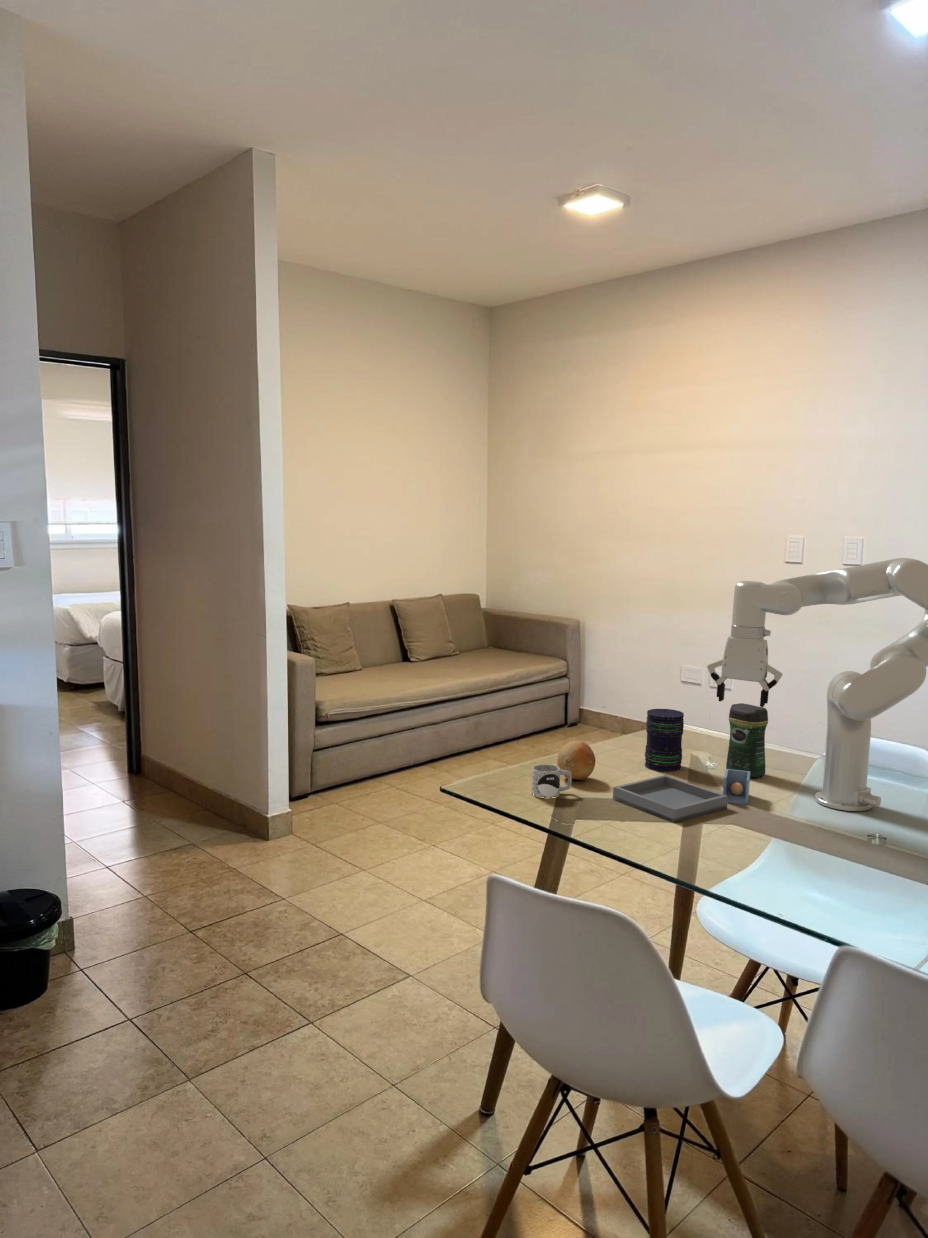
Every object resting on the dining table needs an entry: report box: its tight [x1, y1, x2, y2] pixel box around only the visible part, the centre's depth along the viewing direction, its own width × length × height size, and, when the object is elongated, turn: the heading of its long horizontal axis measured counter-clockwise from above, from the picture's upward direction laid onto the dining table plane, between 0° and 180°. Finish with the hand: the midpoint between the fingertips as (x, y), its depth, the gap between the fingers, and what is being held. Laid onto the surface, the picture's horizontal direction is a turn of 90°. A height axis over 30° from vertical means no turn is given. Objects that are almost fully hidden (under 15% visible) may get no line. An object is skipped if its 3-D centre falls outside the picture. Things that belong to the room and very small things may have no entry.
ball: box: [730, 782, 743, 795], centre depth 211 cm, size 3×3×3 cm
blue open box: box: [722, 768, 751, 806], centre depth 209 cm, size 8×6×6 cm
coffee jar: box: [725, 702, 769, 778], centre depth 229 cm, size 10×8×19 cm
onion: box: [556, 739, 596, 781], centre depth 222 cm, size 10×10×10 cm
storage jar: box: [644, 708, 685, 773], centre depth 234 cm, size 10×10×15 cm
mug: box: [531, 763, 573, 798], centre depth 210 cm, size 10×7×7 cm, turn 106°
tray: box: [612, 774, 728, 824], centre depth 205 cm, size 19×18×3 cm
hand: (741, 703), depth 210 cm, fingers open, 9 cm apart
